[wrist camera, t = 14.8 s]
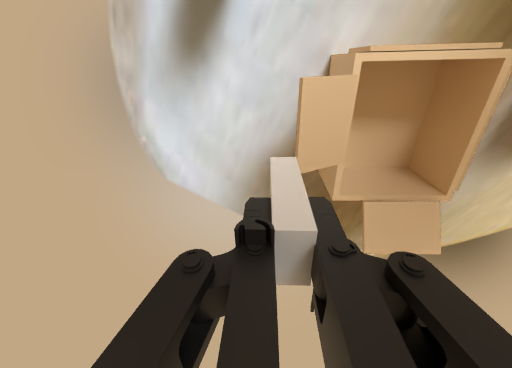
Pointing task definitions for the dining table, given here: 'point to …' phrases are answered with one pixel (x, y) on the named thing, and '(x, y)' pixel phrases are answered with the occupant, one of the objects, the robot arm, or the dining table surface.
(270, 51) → the dining table surface
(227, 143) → the dining table surface
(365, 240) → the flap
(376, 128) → the carton
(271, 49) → the dining table surface
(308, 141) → the side flap
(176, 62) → the dining table surface
